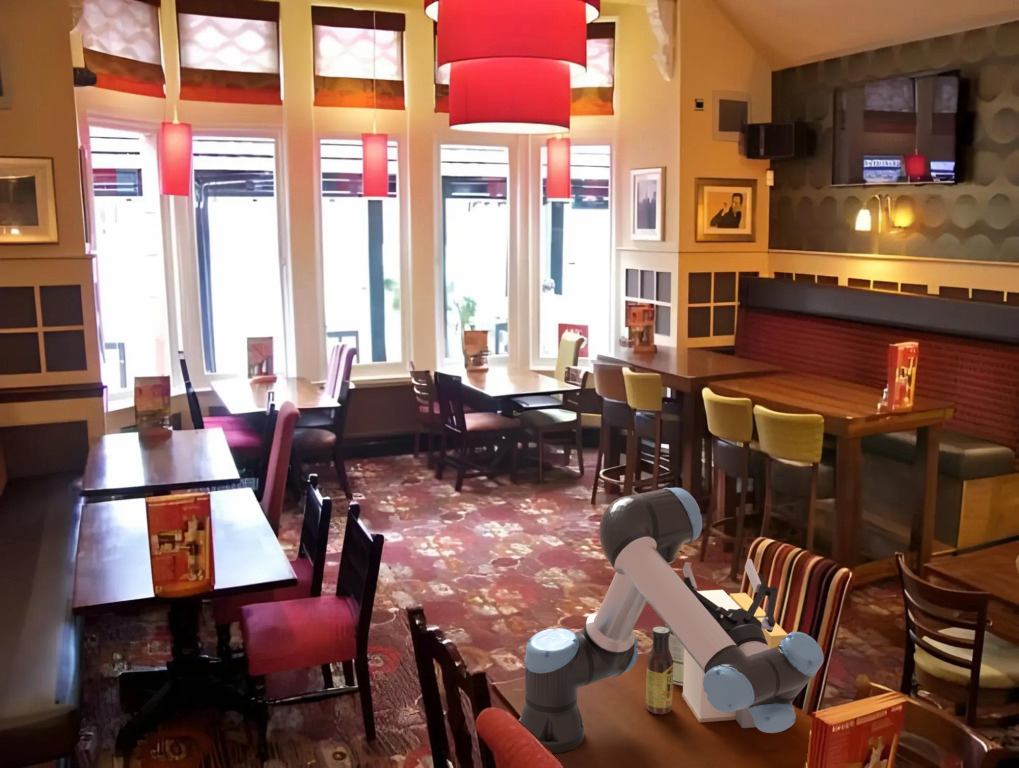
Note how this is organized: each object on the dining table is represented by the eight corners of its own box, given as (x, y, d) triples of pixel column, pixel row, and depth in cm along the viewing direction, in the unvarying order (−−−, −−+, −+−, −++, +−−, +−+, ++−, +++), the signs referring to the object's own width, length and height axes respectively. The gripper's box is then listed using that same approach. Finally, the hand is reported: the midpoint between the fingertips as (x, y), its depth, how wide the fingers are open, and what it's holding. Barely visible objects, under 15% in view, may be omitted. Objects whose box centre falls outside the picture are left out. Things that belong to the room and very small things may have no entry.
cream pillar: (738, 719, 215) (743, 610, 211) (699, 722, 214) (703, 612, 209) (718, 693, 227) (723, 589, 223) (681, 696, 226) (685, 591, 221)
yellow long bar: (787, 647, 203) (788, 634, 202) (770, 648, 202) (770, 635, 202) (744, 604, 226) (745, 592, 226) (729, 605, 226) (729, 593, 225)
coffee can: (675, 663, 243) (677, 613, 240) (711, 675, 236) (713, 623, 234) (656, 678, 235) (657, 626, 232) (692, 690, 228) (695, 637, 226)
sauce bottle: (671, 717, 216) (674, 637, 213) (644, 714, 217) (647, 635, 214) (672, 703, 222) (675, 625, 219) (646, 700, 224) (648, 623, 220)
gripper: (683, 667, 177) (656, 579, 193) (805, 659, 181) (768, 573, 197) (690, 644, 172) (662, 555, 188) (816, 636, 176) (778, 550, 192)
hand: (716, 564), depth 193 cm, fingers open, 13 cm apart
